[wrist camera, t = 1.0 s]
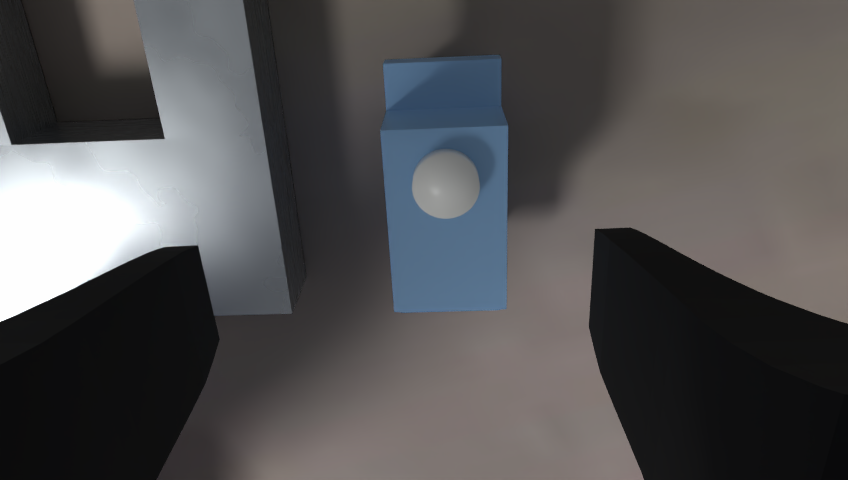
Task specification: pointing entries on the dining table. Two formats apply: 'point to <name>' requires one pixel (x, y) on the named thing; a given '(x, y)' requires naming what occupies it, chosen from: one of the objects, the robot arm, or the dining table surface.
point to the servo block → (446, 183)
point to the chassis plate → (154, 165)
